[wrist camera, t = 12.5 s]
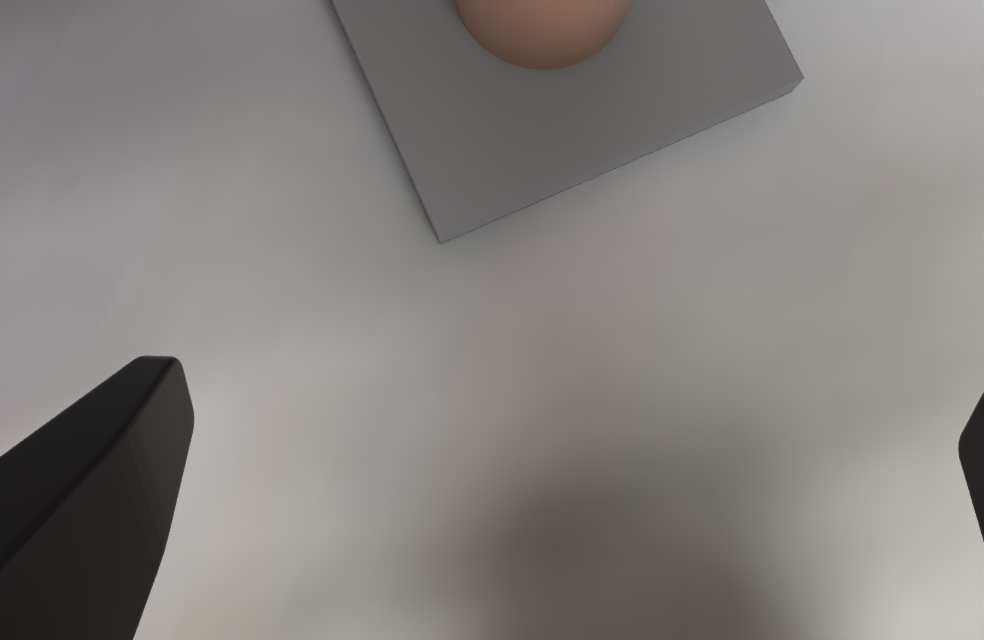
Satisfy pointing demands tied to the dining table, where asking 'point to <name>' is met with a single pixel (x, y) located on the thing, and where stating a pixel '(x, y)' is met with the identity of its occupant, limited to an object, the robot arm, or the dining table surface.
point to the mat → (554, 97)
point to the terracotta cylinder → (543, 29)
